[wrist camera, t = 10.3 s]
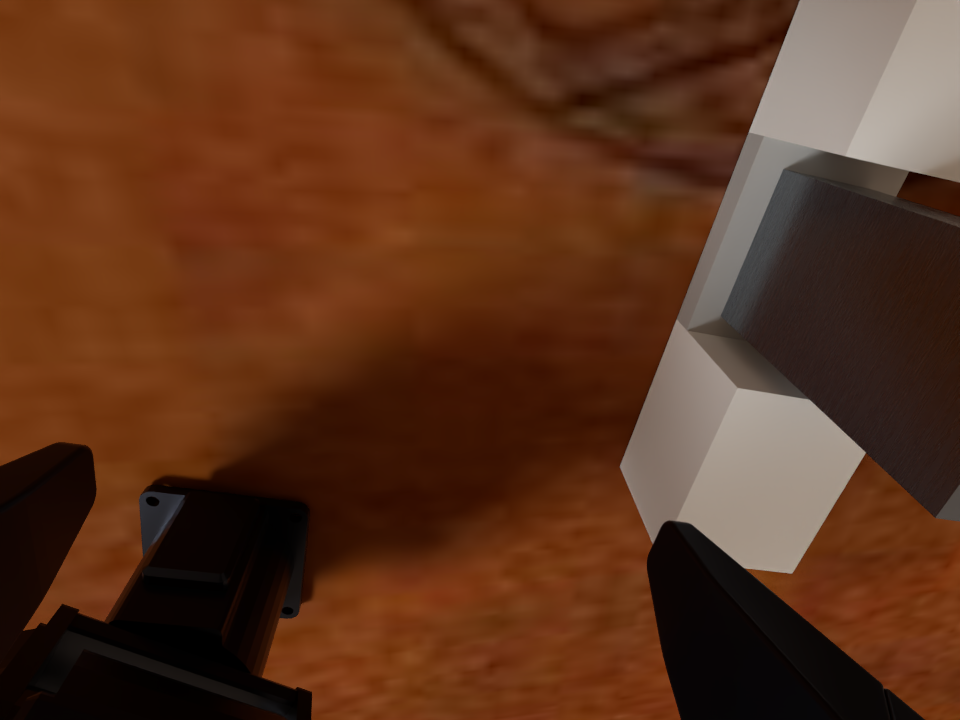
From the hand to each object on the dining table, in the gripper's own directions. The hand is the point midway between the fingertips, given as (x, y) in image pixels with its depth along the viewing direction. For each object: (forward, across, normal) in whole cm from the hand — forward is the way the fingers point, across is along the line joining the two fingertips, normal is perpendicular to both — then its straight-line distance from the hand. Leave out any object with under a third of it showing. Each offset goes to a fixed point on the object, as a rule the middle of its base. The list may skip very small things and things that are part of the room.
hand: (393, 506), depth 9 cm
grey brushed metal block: (+11, -12, -3) cm, 16 cm away
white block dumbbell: (+12, -12, -3) cm, 17 cm away
